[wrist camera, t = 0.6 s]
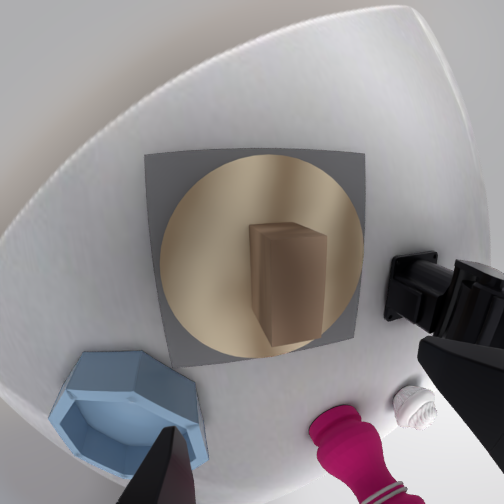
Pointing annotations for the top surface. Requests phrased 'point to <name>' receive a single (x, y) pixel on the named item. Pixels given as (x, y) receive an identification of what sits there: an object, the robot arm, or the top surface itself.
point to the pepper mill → (357, 457)
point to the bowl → (126, 410)
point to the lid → (261, 256)
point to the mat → (184, 178)
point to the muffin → (414, 407)
